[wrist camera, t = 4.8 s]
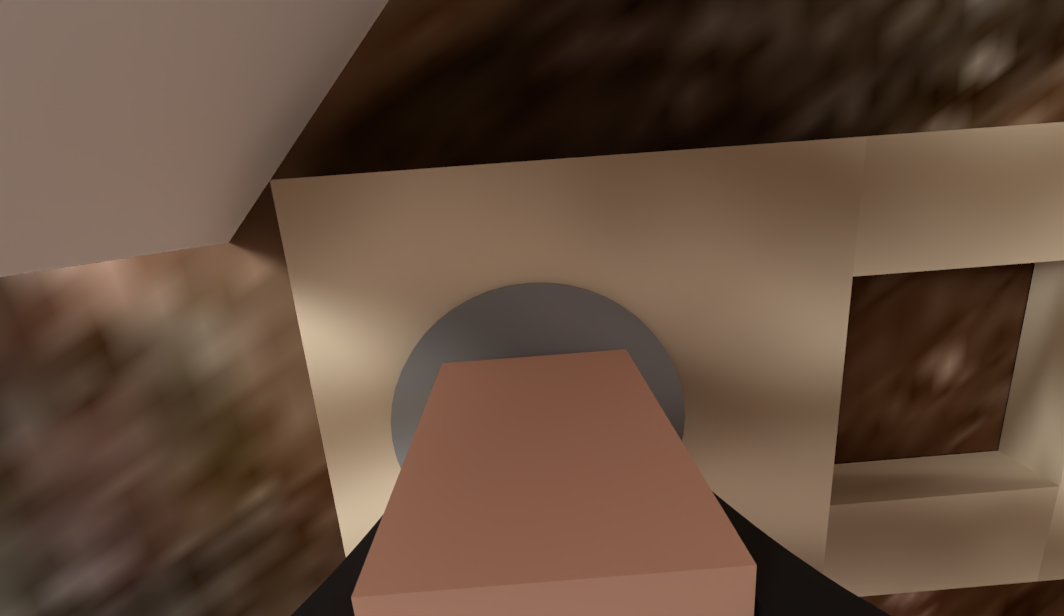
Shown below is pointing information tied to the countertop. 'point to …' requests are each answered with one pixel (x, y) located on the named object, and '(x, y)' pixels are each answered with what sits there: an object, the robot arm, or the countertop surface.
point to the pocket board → (705, 324)
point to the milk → (153, 117)
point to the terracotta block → (552, 502)
